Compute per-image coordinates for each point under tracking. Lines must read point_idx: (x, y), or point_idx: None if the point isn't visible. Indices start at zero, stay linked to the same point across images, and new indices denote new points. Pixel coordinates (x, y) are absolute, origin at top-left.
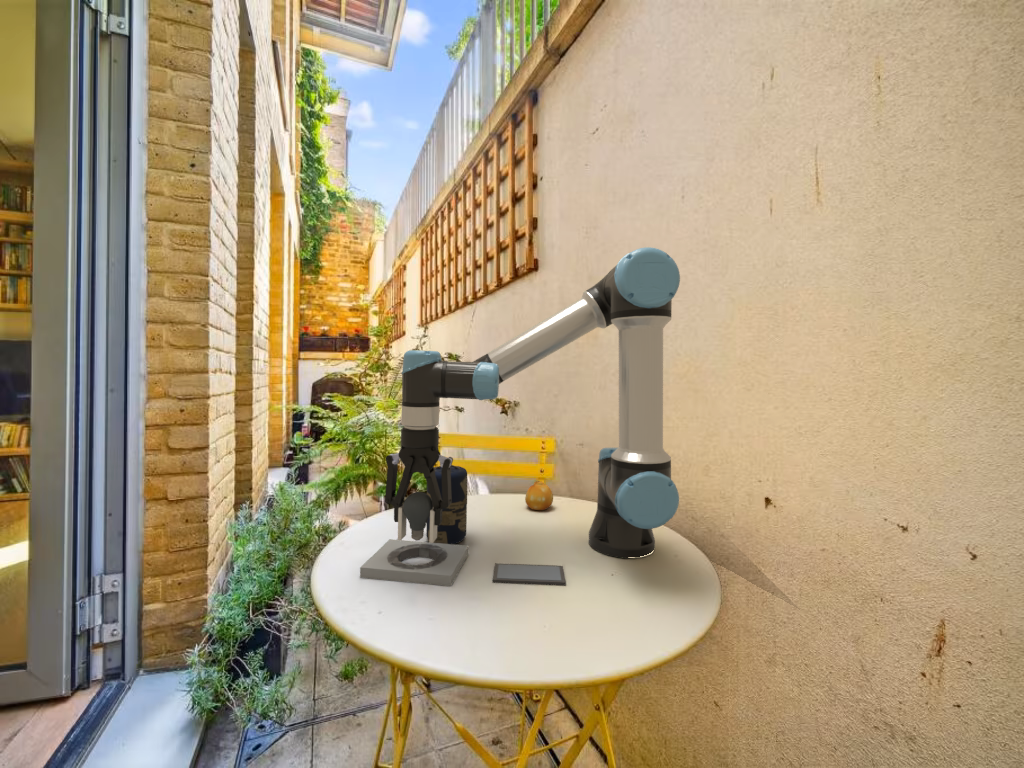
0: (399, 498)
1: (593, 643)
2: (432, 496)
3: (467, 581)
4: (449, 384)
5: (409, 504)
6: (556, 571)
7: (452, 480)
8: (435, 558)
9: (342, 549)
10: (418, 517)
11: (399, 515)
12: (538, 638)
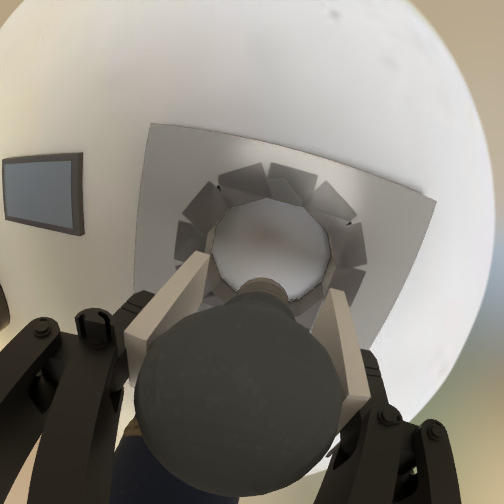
0: (372, 453)
1: (19, 28)
2: (82, 410)
3: (128, 153)
4: None
5: (295, 394)
6: (8, 197)
7: (117, 498)
8: (220, 282)
9: (447, 346)
10: (229, 305)
11: (357, 362)
12: (57, 8)
